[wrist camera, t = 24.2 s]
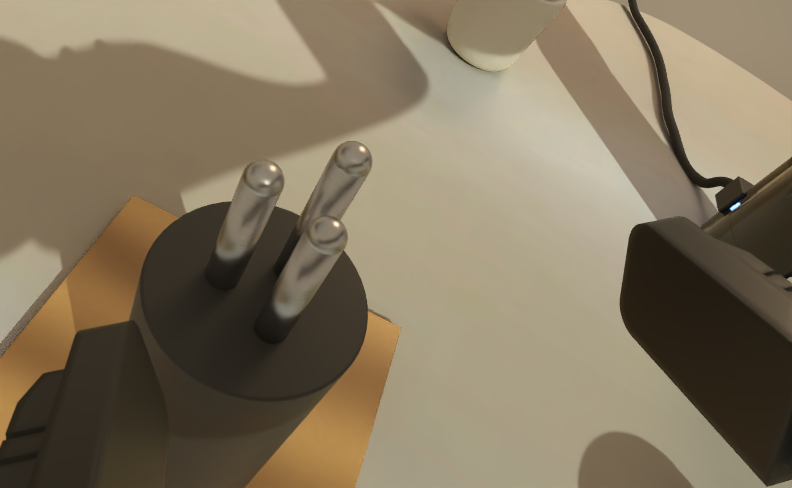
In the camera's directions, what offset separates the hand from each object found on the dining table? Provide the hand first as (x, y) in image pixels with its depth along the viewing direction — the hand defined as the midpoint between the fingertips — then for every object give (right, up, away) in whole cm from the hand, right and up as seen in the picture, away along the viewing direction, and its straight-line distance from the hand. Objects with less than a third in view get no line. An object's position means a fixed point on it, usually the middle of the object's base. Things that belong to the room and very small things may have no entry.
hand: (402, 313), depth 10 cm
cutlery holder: (-9, -7, +15) cm, 18 cm away
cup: (+6, +19, +45) cm, 49 cm away
